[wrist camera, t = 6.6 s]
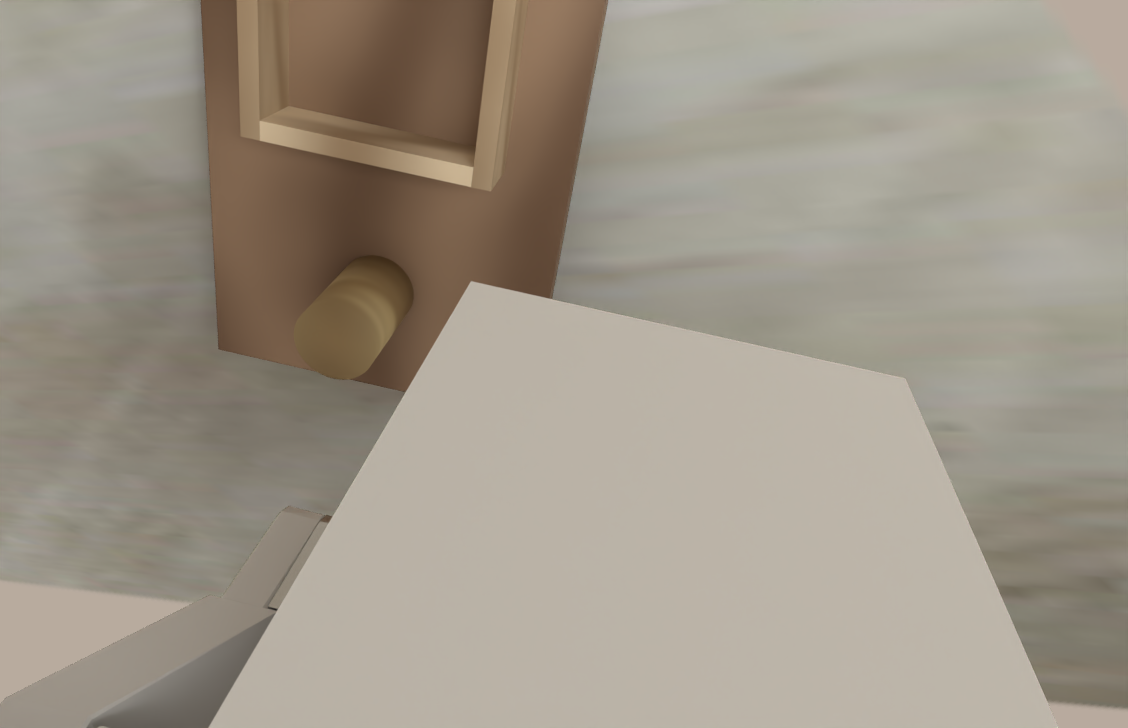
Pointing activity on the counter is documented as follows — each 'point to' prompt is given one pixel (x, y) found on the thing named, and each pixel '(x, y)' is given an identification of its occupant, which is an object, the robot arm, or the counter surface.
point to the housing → (640, 548)
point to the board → (386, 167)
